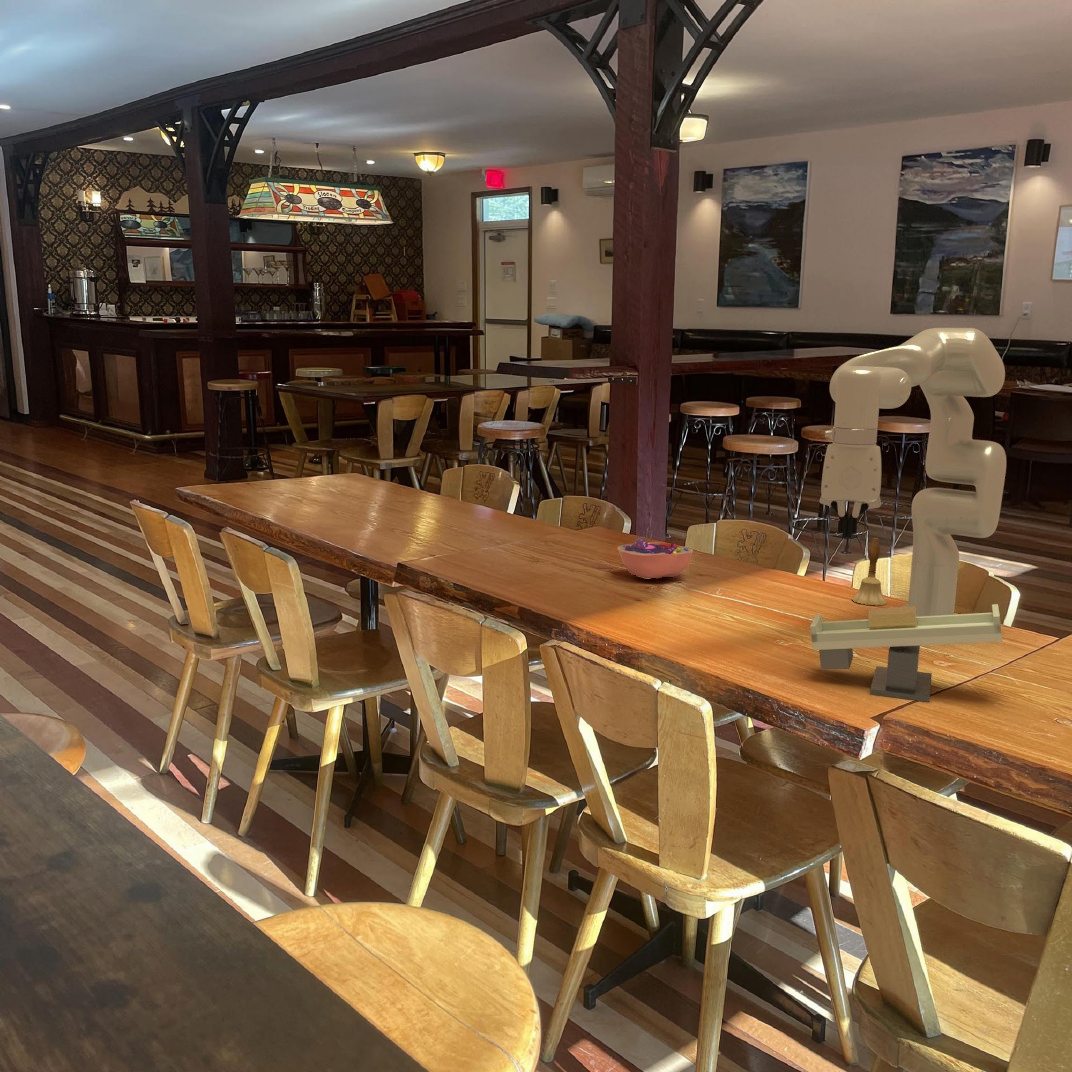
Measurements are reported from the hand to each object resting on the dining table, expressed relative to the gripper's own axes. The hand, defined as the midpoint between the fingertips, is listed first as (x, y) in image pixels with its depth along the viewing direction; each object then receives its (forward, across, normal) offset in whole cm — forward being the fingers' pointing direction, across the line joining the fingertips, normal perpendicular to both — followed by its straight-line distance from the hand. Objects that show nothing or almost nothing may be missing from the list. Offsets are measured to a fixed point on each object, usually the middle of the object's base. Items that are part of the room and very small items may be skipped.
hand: (847, 537), depth 185 cm
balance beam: (+22, +12, 0) cm, 25 cm away
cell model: (+27, -54, +63) cm, 87 cm away
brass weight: (+17, +9, 0) cm, 19 cm away
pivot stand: (+27, +12, 0) cm, 29 cm away
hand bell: (+27, +1, +62) cm, 68 cm away
